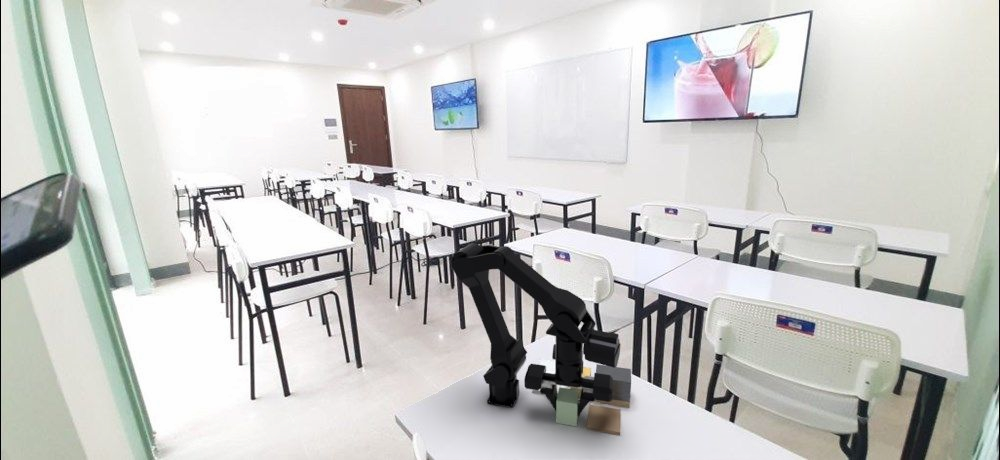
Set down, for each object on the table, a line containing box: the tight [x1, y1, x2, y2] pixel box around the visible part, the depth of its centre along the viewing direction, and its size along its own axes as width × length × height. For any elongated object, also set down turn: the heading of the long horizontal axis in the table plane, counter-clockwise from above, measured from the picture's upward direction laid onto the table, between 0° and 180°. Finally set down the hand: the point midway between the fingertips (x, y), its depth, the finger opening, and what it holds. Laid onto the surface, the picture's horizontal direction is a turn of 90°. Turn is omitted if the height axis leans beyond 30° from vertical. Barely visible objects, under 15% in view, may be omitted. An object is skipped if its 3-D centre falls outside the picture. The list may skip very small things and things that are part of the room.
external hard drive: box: [532, 359, 568, 395], centre depth 105 cm, size 2×8×12 cm
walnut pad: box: [586, 403, 622, 436], centre depth 91 cm, size 7×7×1 cm
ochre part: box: [569, 366, 592, 400], centre depth 99 cm, size 4×4×6 cm
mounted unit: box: [594, 363, 632, 408], centre depth 97 cm, size 8×5×7 cm, turn 74°
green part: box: [555, 387, 580, 427], centre depth 92 cm, size 4×4×6 cm
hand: (567, 412), depth 92 cm, fingers closed on green part, 4 cm apart
